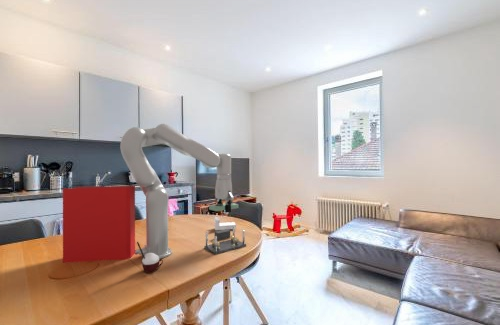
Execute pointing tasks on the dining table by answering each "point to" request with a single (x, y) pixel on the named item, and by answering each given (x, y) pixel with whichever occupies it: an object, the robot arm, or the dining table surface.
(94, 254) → the book
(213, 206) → the board
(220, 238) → the block
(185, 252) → the dining table surface
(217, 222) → the bracket
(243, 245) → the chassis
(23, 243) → the dining table surface
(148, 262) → the cocoa
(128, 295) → the dining table surface
